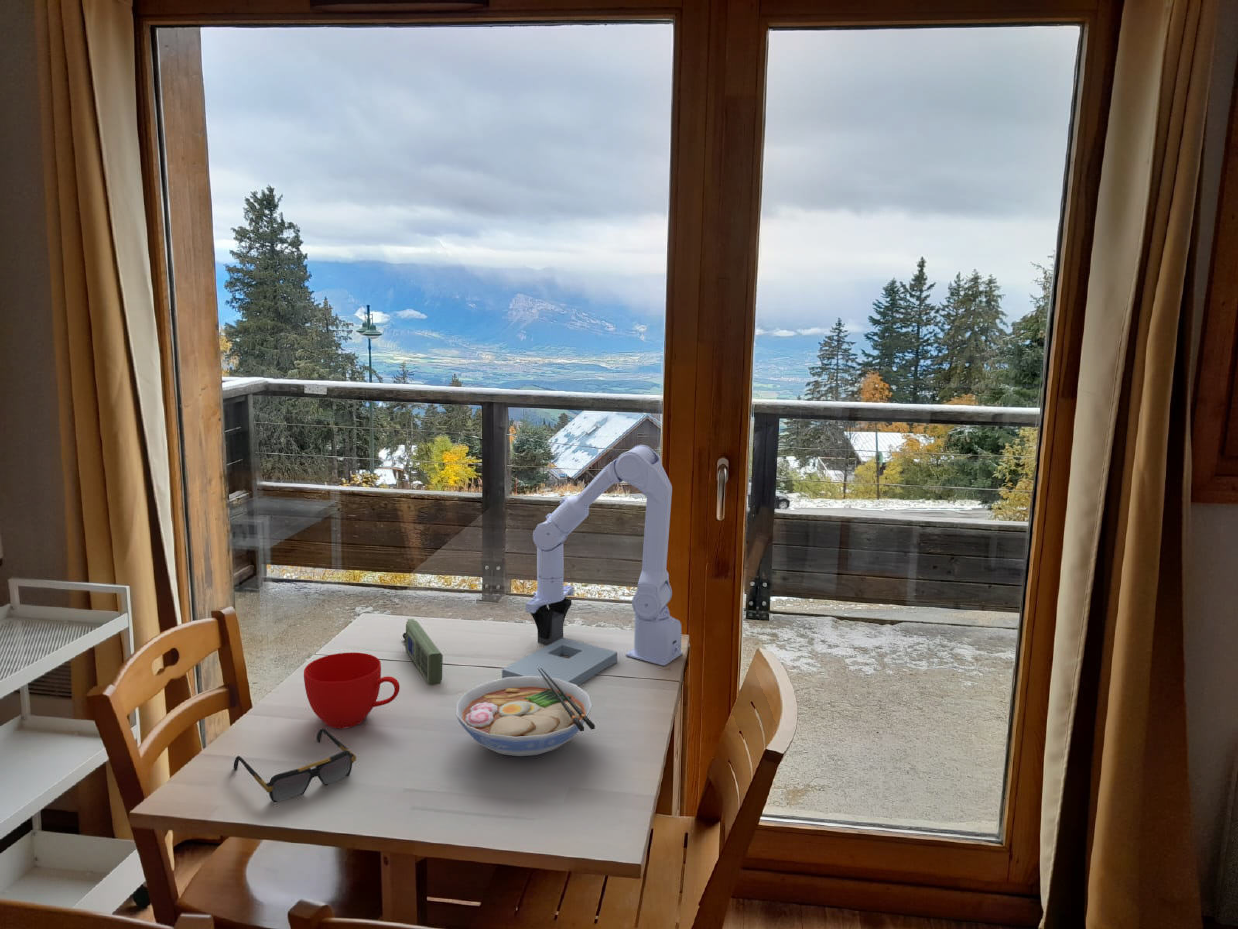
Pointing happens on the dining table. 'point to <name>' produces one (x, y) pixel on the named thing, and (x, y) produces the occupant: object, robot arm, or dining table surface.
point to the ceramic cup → (345, 687)
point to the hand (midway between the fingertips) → (550, 634)
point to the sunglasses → (306, 773)
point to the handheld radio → (423, 652)
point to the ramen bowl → (524, 714)
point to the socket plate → (563, 662)
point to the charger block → (554, 629)
